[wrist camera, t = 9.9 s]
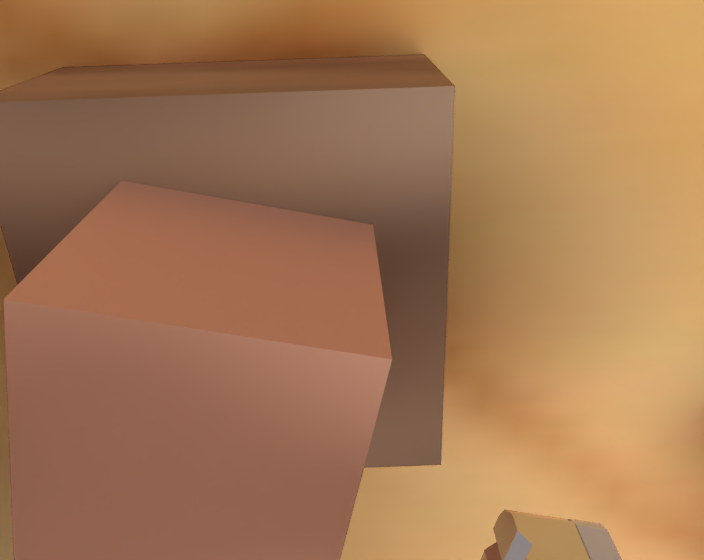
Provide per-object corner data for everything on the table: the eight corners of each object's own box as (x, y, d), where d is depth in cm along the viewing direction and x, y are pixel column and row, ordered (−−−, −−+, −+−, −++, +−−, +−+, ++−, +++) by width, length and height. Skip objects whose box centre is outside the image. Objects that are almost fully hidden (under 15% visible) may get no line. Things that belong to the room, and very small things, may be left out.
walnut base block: (418, 354, 20) (441, 464, 16) (131, 365, 20) (72, 478, 16) (422, 53, 17) (454, 86, 12) (68, 65, 16) (-34, 103, 12)
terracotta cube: (329, 420, 15) (326, 610, 11) (112, 389, 15) (14, 575, 10) (373, 224, 13) (391, 359, 9) (121, 180, 13) (3, 299, 8)
